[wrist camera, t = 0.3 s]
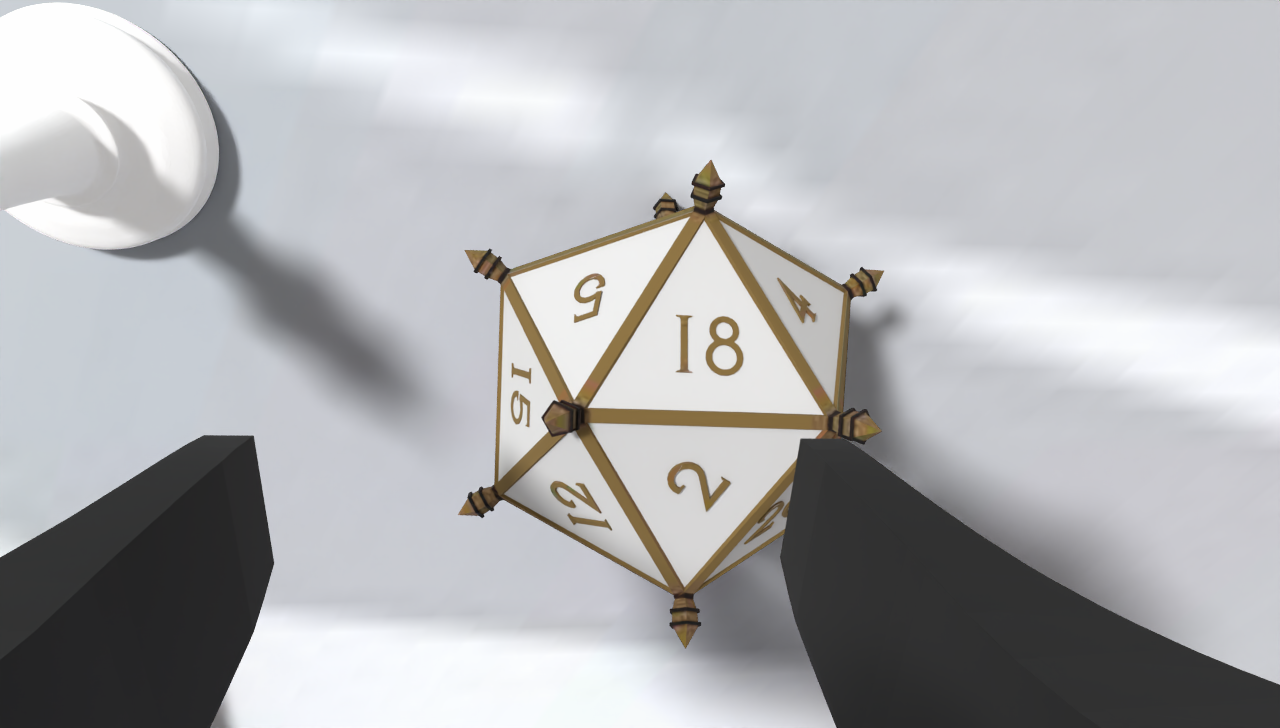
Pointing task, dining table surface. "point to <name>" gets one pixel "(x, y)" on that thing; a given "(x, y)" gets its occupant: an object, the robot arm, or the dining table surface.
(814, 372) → the game die
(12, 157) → the chess piece
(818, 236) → the dining table surface
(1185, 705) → the robot arm
